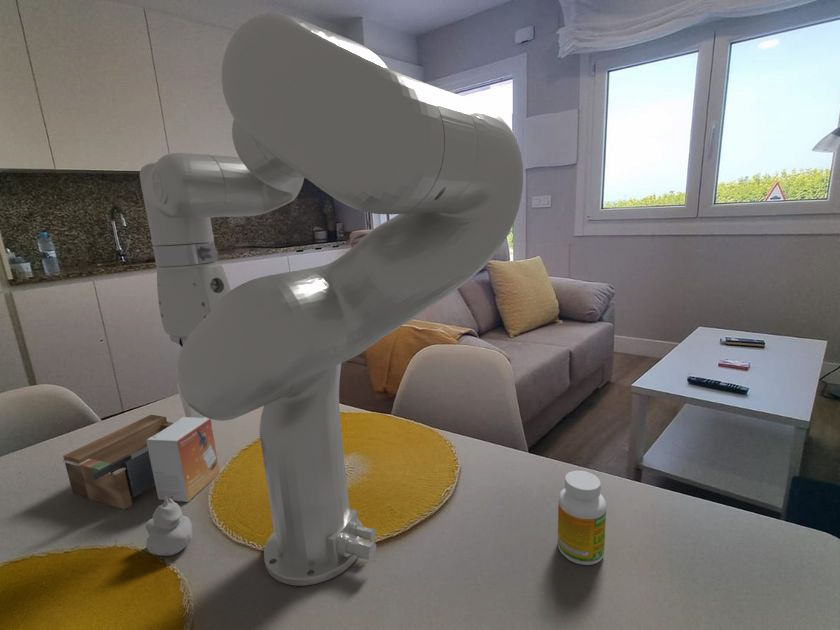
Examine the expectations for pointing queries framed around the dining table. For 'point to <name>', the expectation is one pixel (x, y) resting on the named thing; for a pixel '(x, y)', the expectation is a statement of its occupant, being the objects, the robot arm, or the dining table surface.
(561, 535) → the supplement bottle
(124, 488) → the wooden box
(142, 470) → the pad
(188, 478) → the small box
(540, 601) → the dining table surface
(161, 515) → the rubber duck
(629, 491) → the dining table surface
